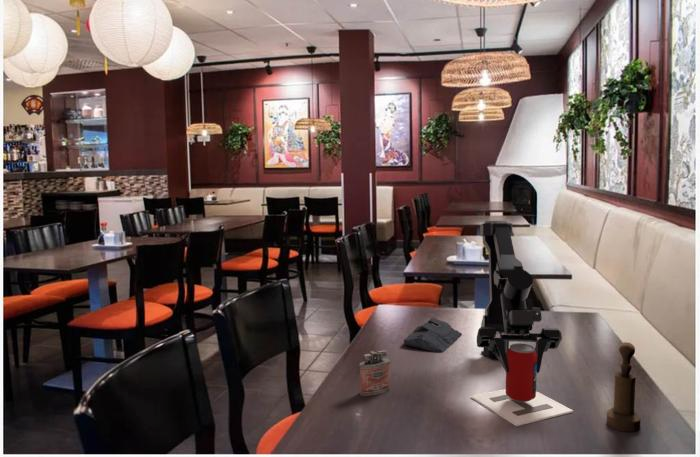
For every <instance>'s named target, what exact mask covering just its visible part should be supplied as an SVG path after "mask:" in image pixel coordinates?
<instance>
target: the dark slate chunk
mask: <svg viewBox="0 0 700 457" xmlns="http://www.w3.org/2000/svg"><path fill="white" fill-rule="evenodd" d="M462 336H463V334H462V332H460V331H459V330H457V329H454V328H453V327H452V326H451V325H450V324H449V323H448V322H446V321H443V320H441V319H438V318H436V317H432V318H430V319H429V320H427V322H425V323H424V324H423V325H420V326H417V327H415V329H413V331H412V332H411V333H409V335H407V337H405V338H403V343H404V345H405V346H408V347H413V348H419V349H422V350H425V351H429V352H433V353H444V352H446V351H447V349H449V348H450V347H452V346H453V345H454V344H455V343H456V342H457V341H458V340H459V339H460V338H461V337H462Z"/></svg>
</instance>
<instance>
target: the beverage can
mask: <svg viewBox="0 0 700 457" xmlns="http://www.w3.org/2000/svg"><path fill="white" fill-rule="evenodd" d="M534 349H535V346H533V345H530V344H526V343H521V342H518V343H513V344H511V345H510V344H509V350H508V351H507V363H508V372H506V371H505V389H506V395H507V396H508V397H510V398H511V399H513V400H515V401H519V402H527V401H530V400H532V399H534V398H535V397H536V391H537V381H538V378H537V376H538V373H537V354H536V352H535V350H534Z"/></svg>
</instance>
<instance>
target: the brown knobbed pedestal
mask: <svg viewBox="0 0 700 457" xmlns="http://www.w3.org/2000/svg"><path fill="white" fill-rule="evenodd" d="M618 351H619V354H620V355H621V357H622V361H621V362H619V366H620V370H621V371H617V372H615V373H614V394H613V396H614V397H613V407H611V408H610V409H608V410H607V412H606V424H607V425H608V426H609V427H610V428H612V429H614V430H617V431H619V432H625V433H632V432H638V431H640V429H641V418H642V417H641V415H639V414H638V413H637V412H636V410H635V401H636V400H635V399H636V397H635V396H636V381H637V377H636V376H637V375H636V374H634V373H632V372H631V371H632V367H633V364H632V363H631V359H632V357H633V356H634V354H636V348H635V346H634V344H632V343H631V342H626V341H625V342H622V343H620V345H619V347H618Z"/></svg>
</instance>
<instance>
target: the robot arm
mask: <svg viewBox="0 0 700 457" xmlns="http://www.w3.org/2000/svg"><path fill="white" fill-rule="evenodd" d="M479 228H480V230H479V234H480V235H479V236H480V237H482V238H481V239H482V243H483V245H484V247H485V248H486V250H487V251H488V252H487V253H488V274H489V301H488V302H489V303H488V304H487V306H486V308H485V310H484V314H483V316H482V319H481V322H480V327H479V328H478V330H477V334H476V346H477V347H478V348H483V350H482V351H480V353H481V355H484V356H485V357H488V358H490V359H492V360H493V361H494V360H495V361H497V360H498V361H499V363H500V365H501V367H502V368H503V370H504V371H505V373H506V372H508V363H507V351H508V350H509V348H510V342H518V343H521V342H524V343H525V342H527V343H535V346H534V350H535V352H536V354H537V374H539V373H540V371H541V366H542V360H543V355H544V353H547V352H548V350H556V349H558V347H559V345H560V343H561V342H562V340H563V336H562V332H561V330H559V328H557V327H556V328H555V327H554V328H553V327H542V329H541V331H540V333H536V332H533V333H532V332H531V331H533V326H534V324H535V323H540V322H541V321H542V319H543V318H542V311H541V307H533V306H532V307H531V308H530V309H529V310H528V308H527V305H526V302H527V301H526V299H527V298H528V296H529V293H530V291H531V288H532V286H533V283H534V280H533V276H532V275H531V273H529V272H528V271H527V270H525V269H524V266H523V263H522V261H520V260H519V259H518V258H516V253H515V250H514V244H513V240H512V239H513V238H512V237H513V222H512V223H510V222H508V221H507V220H484V223H481V224H480V227H479Z"/></svg>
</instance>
